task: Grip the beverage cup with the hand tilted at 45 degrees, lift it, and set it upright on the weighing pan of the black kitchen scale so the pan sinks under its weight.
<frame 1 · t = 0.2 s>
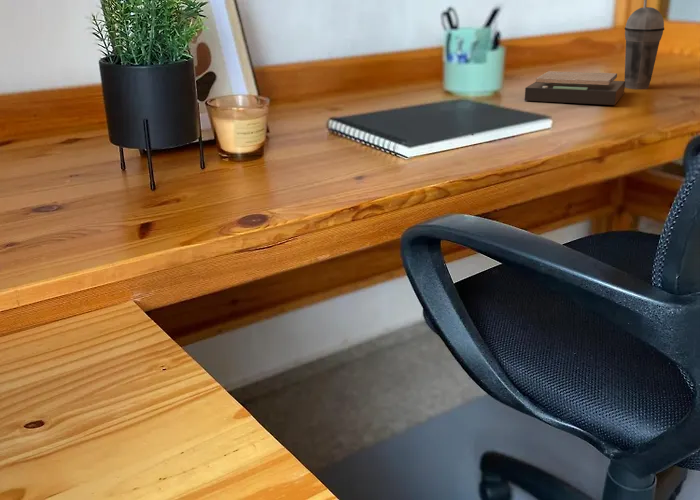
beverage cup: (636, 89, 144), on the table
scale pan: (576, 77, 134), point 4 cm above the table, slide at 0.0 cm
scale: (575, 97, 136), on the table
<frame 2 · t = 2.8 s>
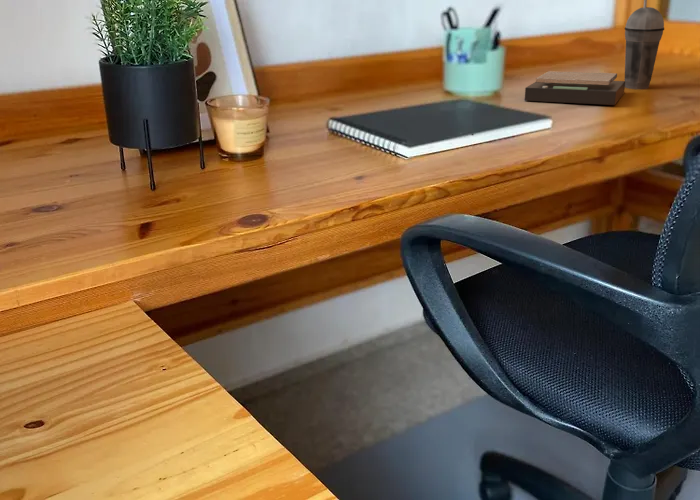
nothing on the table moved.
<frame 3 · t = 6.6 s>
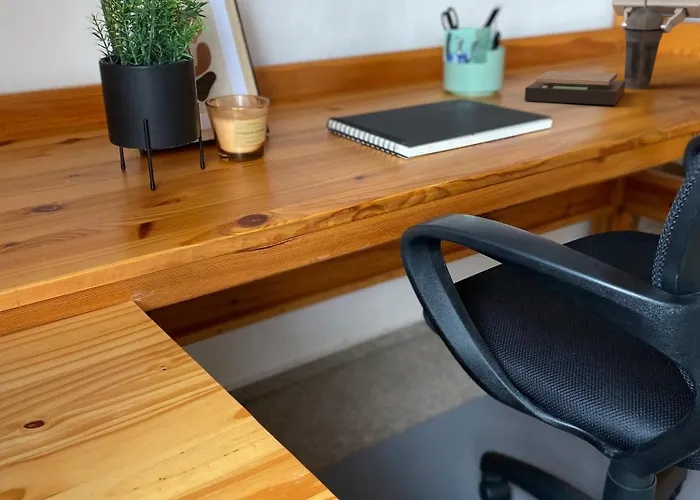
hand: (644, 30, 139), 11 cm above the table, tool tilted 45°, fingers closed on beverage cup, 7 cm apart
beverage cup: (636, 89, 144), on the table, touching gripper
everything else where it was.
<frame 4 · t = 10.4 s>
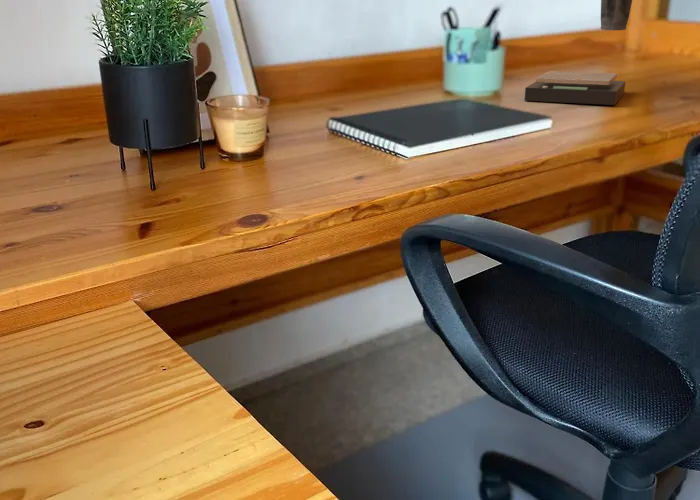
beverage cup: (613, 30, 136), point 12 cm above the table, touching gripper
everything else where it was.
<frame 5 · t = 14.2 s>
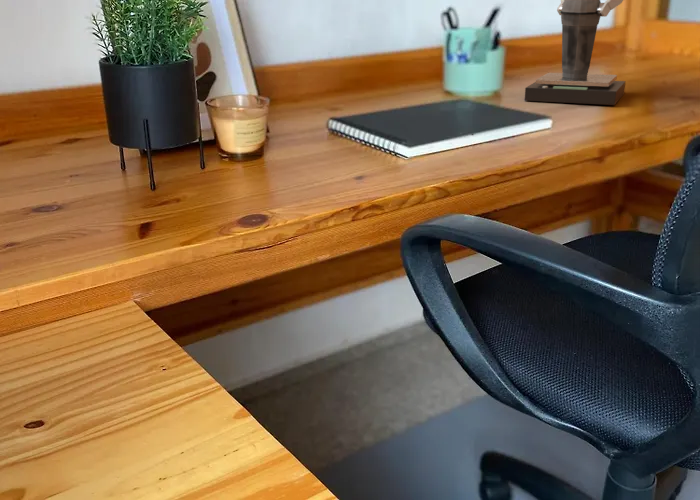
hand: (580, 13, 130), 15 cm above the table, tool tilted 45°, fingers closed on beverage cup, 7 cm apart
beverage cup: (574, 77, 135), point 4 cm above the table, touching gripper, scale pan
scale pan: (576, 79, 135), point 3 cm above the table, slide at -0.3 cm, touching beverage cup
when the fingers open (15 cm above the table, at t = 14.4 s): beverage cup stays where it is, resting on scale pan.
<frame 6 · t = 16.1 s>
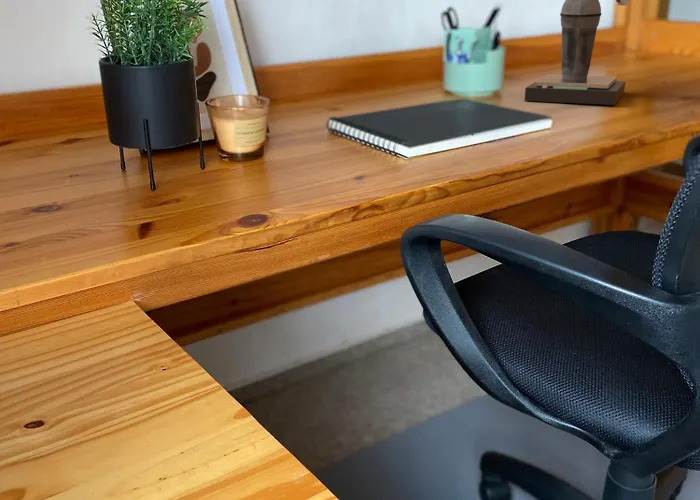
hand: (598, 2, 132), 17 cm above the table, tool tilted 45°, fingers open, 8 cm apart
beverage cup: (574, 79, 135), point 3 cm above the table, touching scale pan
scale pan: (576, 81, 135), point 3 cm above the table, slide at -0.6 cm, touching beverage cup
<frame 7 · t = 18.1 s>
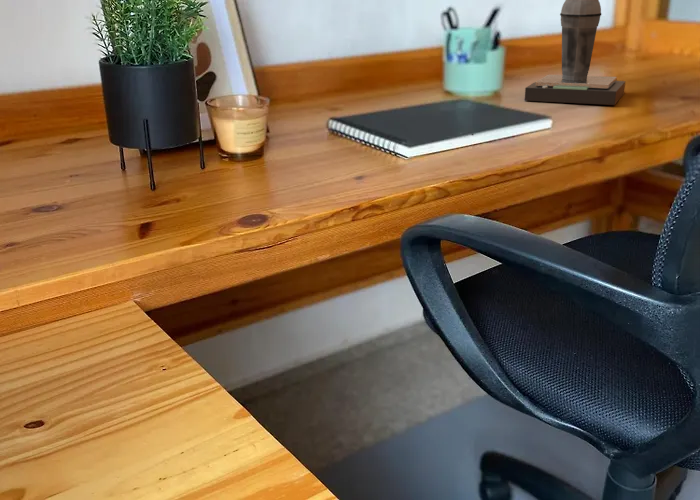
nothing on the table moved.
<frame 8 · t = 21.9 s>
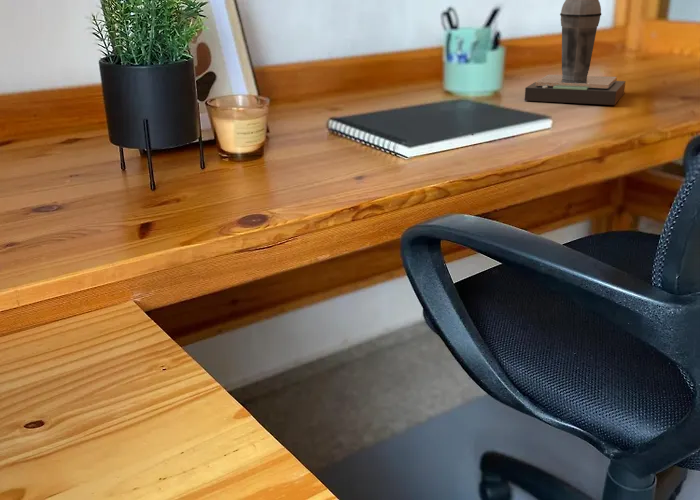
nothing on the table moved.
at the end: beverage cup inside the target area on the scale (0.5 cm from its centre), point 3.3 cm above the scale's base; beverage cup tilted 2°; beverage cup touching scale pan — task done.
